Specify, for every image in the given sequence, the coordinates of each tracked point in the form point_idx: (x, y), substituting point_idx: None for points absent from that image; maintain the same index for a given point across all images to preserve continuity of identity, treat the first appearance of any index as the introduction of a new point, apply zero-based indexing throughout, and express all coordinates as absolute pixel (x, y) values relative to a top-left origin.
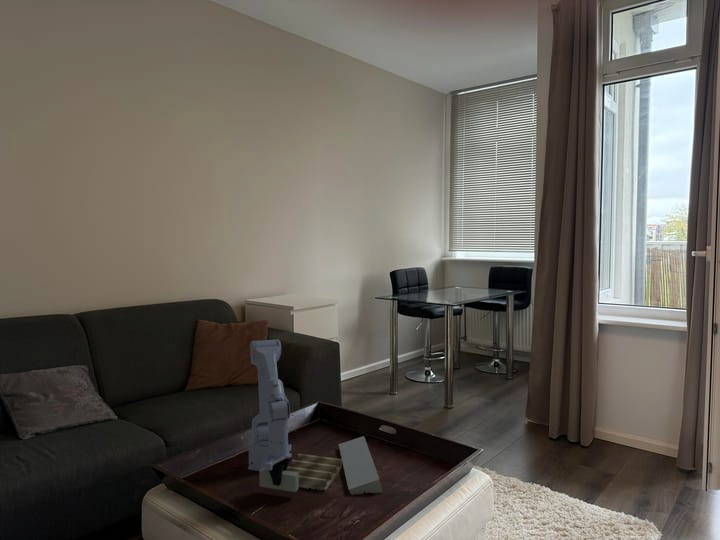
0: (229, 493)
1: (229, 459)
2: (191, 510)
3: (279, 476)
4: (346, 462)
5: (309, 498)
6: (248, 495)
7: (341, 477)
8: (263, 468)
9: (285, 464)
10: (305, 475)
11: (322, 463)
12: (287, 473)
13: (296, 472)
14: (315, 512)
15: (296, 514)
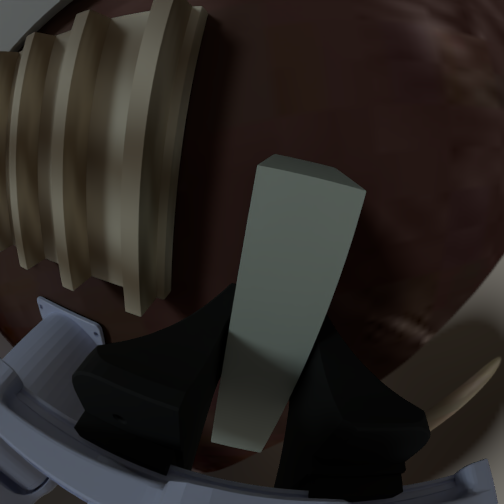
0: (278, 425)
1: None
2: None
3: (350, 355)
4: (8, 38)
5: (309, 78)
6: None
7: (79, 12)
8: (225, 441)
9: (204, 375)
10: (84, 168)
11: (5, 135)
12: (296, 299)
13: (258, 194)
14: (445, 48)
15: (471, 144)
